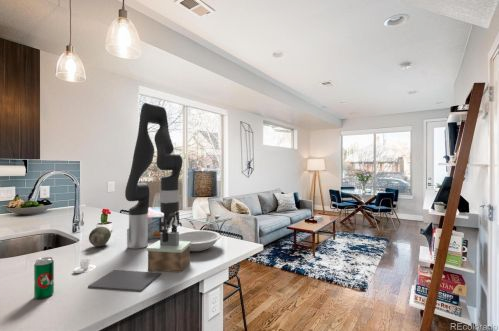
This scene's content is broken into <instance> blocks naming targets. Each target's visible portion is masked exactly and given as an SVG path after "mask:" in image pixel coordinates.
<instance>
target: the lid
mask: <svg viewBox="0 0 499 331" xmlns="http://www.w3.org/2000/svg"><path fill="white" fill-rule="evenodd" d="M179 233H180V232H179V231H177V232H172V231H168V242H163V241H162V233H160V238H159V240H157V241H155V242H153V243H152V244H151V245H148V246H146V247H145V252H148V251H157V252H177V253H182V252H183V251H184V250H185V249H186V248H187V247H189V246H190V245H191V242H190V241H179Z"/></svg>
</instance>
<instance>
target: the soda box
mask: <svg viewBox="0 0 499 331" xmlns="http://www.w3.org/2000/svg"><path fill="white" fill-rule="evenodd" d="M160 217H164V213H162V212H161V211H160V206H151V207H150V206H149V208H148V240H151V239H160V233H162V232H159V219H160Z"/></svg>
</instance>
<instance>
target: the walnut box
mask: <svg viewBox="0 0 499 331" xmlns="http://www.w3.org/2000/svg"><path fill="white" fill-rule="evenodd" d="M190 253H191V251H190V246H189V247H187V248H186V249H185V250H184V251H183V252H182V253H177V252H157V251H147V270H148V271H155V272H156V271H158V272H170V273H171V272H173V273H182V271H183V270H185V268H186V267H187V266H188V265H190V262H191V261H190V260H191V258H190V257H191V254H190Z"/></svg>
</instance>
